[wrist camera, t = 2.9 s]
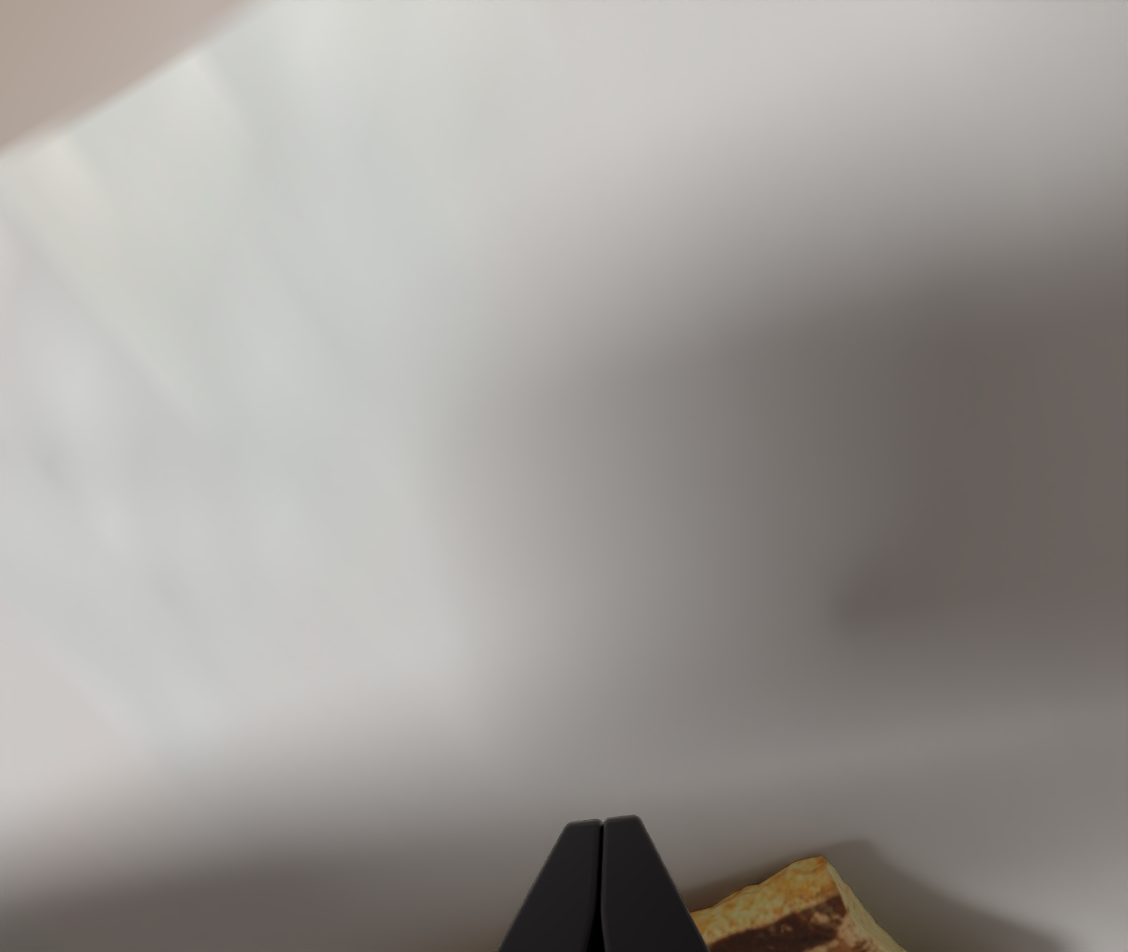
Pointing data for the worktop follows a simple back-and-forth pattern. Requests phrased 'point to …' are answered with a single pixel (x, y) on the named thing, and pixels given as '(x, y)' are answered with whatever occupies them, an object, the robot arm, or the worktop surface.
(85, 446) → the worktop surface
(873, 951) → the shard
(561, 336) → the worktop surface
